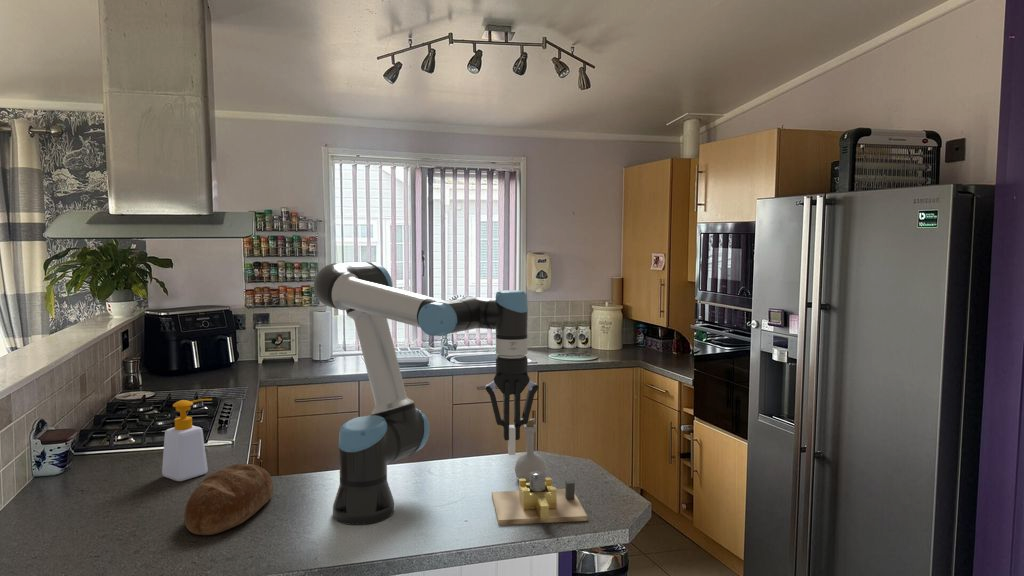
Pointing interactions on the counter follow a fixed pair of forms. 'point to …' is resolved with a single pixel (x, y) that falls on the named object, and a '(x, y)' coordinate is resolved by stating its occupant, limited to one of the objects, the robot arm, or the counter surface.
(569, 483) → the block
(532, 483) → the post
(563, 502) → the oak board
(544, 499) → the handled square frame
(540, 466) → the potion bottle
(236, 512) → the bread
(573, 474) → the counter surface
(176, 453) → the soap bottle
